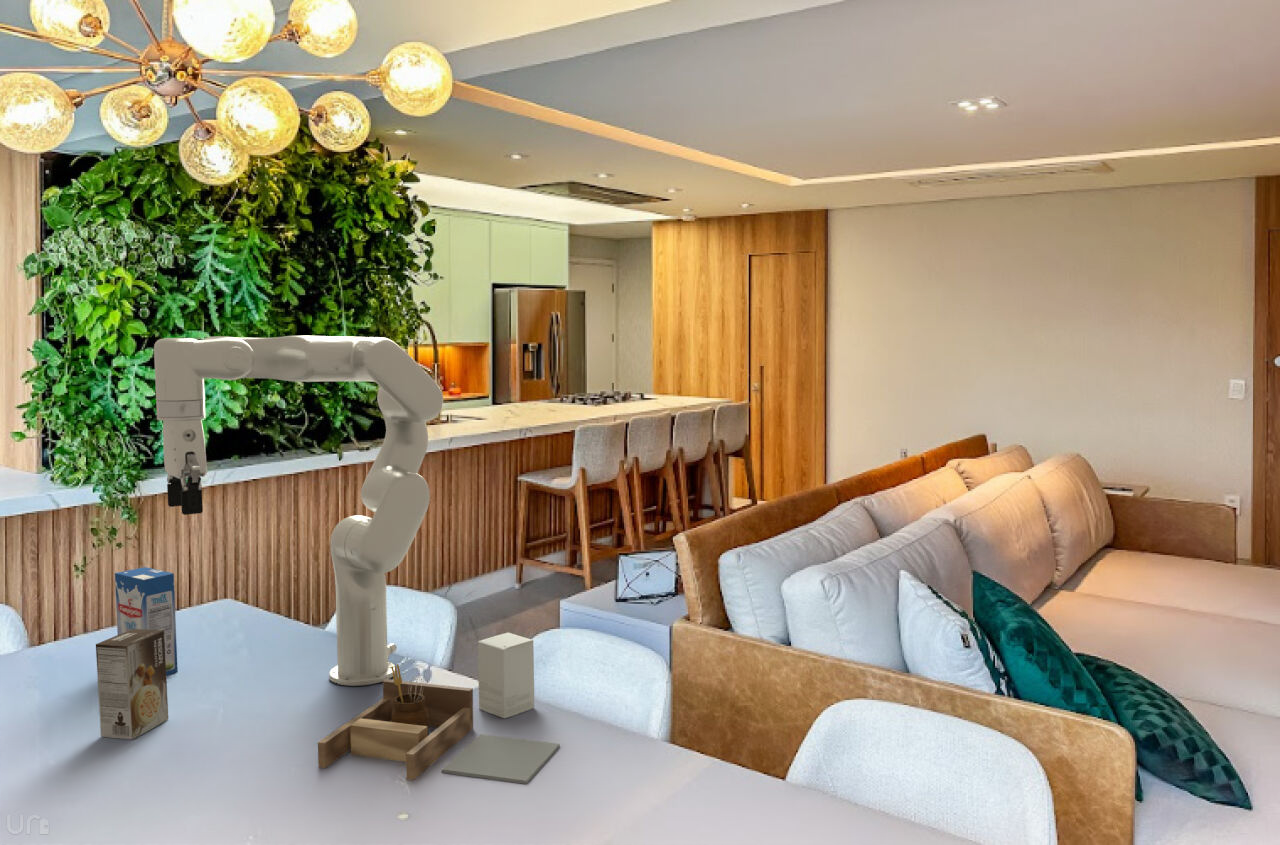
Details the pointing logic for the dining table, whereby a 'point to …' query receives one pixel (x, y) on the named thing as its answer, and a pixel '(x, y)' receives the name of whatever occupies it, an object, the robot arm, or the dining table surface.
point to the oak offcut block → (385, 738)
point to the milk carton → (148, 606)
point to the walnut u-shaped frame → (444, 711)
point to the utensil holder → (409, 705)
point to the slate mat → (501, 758)
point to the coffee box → (132, 683)
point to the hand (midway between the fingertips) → (185, 509)
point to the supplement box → (506, 674)
